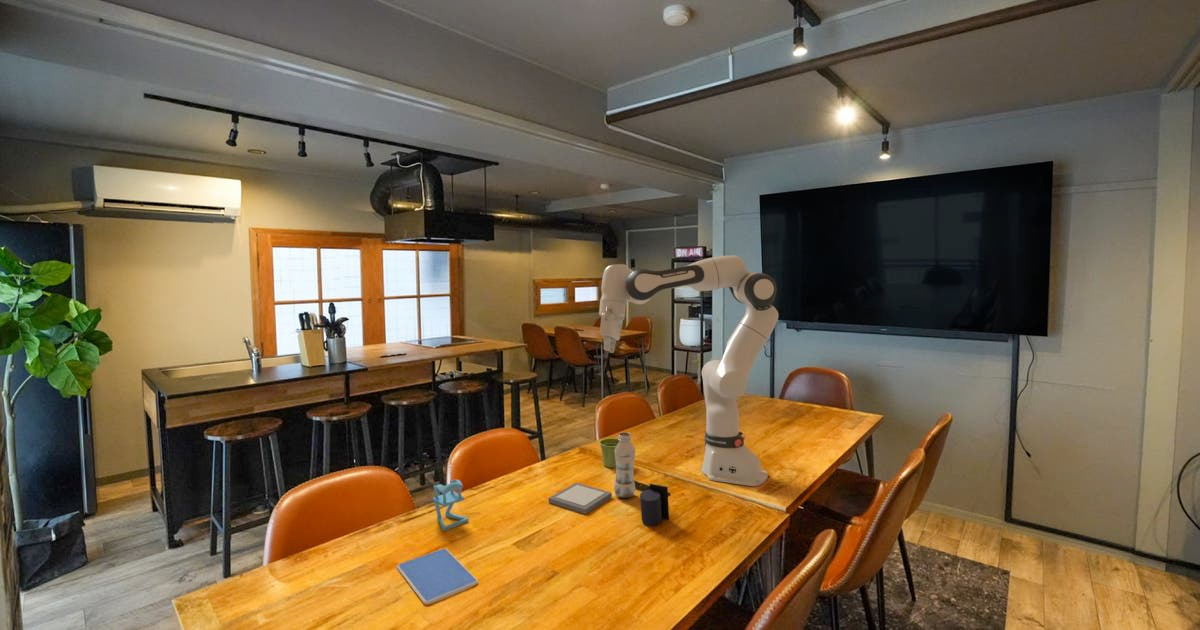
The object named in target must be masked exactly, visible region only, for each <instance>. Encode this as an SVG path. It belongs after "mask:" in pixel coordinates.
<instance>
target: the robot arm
mask: <svg viewBox="0 0 1200 630" xmlns="http://www.w3.org/2000/svg"><path fill="white" fill-rule="evenodd" d="M746 267H747V266H746V263H745V262H744V260H743V259H742V258H741V257H740V256H738V255H735V254H734V255H733V254H732V255H730V254H729V255H718V256H714V257H708V258H704V259H701V260H697V261H694V262H692V263H690V264H687V265H685V266H680V267H675V268H669V269H664V270H651V269H646V268H639V269H636V270H634V271H633V270H632V269H631V268H629V266H627V265H626V264H625V263H614V264H611V265H610V264H609V265H608V266H607V267H605V268H604V271H603V273H602V278H601V288H600V291H601V297H600V300H599V309H598V311H599V312H598V315H599V316H601V319H600V327H599V333H600V335H601V336H602V337H603V338H602V339H603V350H604V351H606V352H607V351H608V353H611V354H612V353H614V352H615V349H616V344H617V341H619V340H620V338H621V334H622V328H623V321H624V320H625V317H626V306H627V302H629V303H632V304H634V305H644V304H647V303H648V302H649V301H650V300H651V299H652V298H653V296H654V295H656V294H658V293H659V292H661V291H666V290H672V289H675V288H681V287H689V288H691V289H693V290H695V292H709V291H716V290H719V289H722V288H723V289H725V288H729V290H730V293H731V295H732V296H733V298H734V300H736V301H737V302H738V303H741V304H745V307H746V309H745V312H744V313H745V314H744V316H743V317H742V318H741V320H740V321H739V323H738V324H737V326H736V328H735V329H734V331H733V332H732V334H731V335H730V337H729V338H728V340H727V342H726V348H725V351H724V353H723V356H722V358H721V359H712V360H709V361H707V362H706V363H705V364H704V365H703V367H702V369H701V377H702V382H703V383H702V384H703V385H702V386H703V394H704V402H705V409H706V410H705V411H706V415H705V416H706V419H705V422H706V427H705V429H706V430H705V431H704V445H705V449H704V458H703V461H702V462H703V463H702V466H701V473H702V474H704V475H705V476H707V478H708V479H709V480H710V481H714V482H719V483H721V482H722V483H726V484H735V485H740V486H748V487H758V486H761V485H763V484H764V483H765V482H767V480H768V477H769V475H768V472H767V471H766V470H764V469H762V466H761V465H762V464H761V461H760V458H759V457H758V456H757V455H756V454H755V453H754V452H752V451H751V449H749V448H748V447H747V446H746V445H745V439H746V435H744V436H743V435H741V434H740V433H739V432H740V431H739V426H740V425H739V423H740V422H739V421H740V420H739V419H740V416H739V415H740V414H739V413H740V412H739V408H738V404H737V399H738V398H740V397H741V396H742V395H743V394H744V393H745V392H746V390H747V387H748V378H749V376H750V372H751V371H752V368H753V366H754V362H755V360H756V358H757V357H758V356H759V354H760V352H761V350H762V349H763V348H764V345H765V344H766V342H767V341H768V340H769V338H770V336H771V334H772V333H773V331H774V329H775V326H776V325H777V322H778V321H779V312H778V310H777V309H776V307H775V306H774V305H775V303H776V295H777V290H778V289H777V283H776V281H775V279H774V278H773V277H772V276H770V275H769V274H766V273H763V272H750V271H748V270H747V268H746Z"/></svg>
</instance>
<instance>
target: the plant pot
mask: <svg viewBox="0 0 1200 630" xmlns="http://www.w3.org/2000/svg"><path fill="white" fill-rule="evenodd" d="M598 443H599V446H600V449H601V455H602V460H603V461H602V462H603V466H605V467H606V468H610V469H611V468H612V469H614V468H615V469H616V460H615V451H614V450H615V447H616V446H617V444H618V443H619V440H618V438H614V437H610V438H603V439H600V441H599V442H598Z"/></svg>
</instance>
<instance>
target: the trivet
mask: <svg viewBox="0 0 1200 630" xmlns="http://www.w3.org/2000/svg"><path fill="white" fill-rule="evenodd" d="M612 496H613V495H612V492H611V491H607V490H603V489H599V488H596V487H593V486H589V485H586V484H584V483H583V484H582V483H578V482H575V483H572V484H571V485H569V486H568V487H566V488H564V489H563V490H560V491H558V492H557V493H555V494H553V495H552V496H549V497H548V503H549V504H551V505H554V506H558V507H561V508H564V509H567V510H571V511H574V512H577V513H580V514H583V515H587V514H588V513H590V512H591V511H593V510H594V509H596V508H598V507H599V506H600V505H603V503H605V502H606V501H609V500H610V499H611V498H612Z"/></svg>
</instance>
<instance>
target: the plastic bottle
mask: <svg viewBox="0 0 1200 630" xmlns="http://www.w3.org/2000/svg"><path fill="white" fill-rule="evenodd" d="M617 439H618V440H619V443H618V444H617V446H616V447H615V450H614V451H615V460H616V467H615V469H616V470H615V481H614V486H613V488H614V489H613V490H614V494H615V495H616V496H617V497H618V498H621V499H628V498H629V499H630V498H632V497H633V496H634V494H635V492H636V484H635V483H636V482H635V478H634V477H635V476H634V475H635V474H634V467H635V463H634V462H635V457H636V447H634V445H633V444H632V443H631V441H632V437H631V433H630V432H619V433H618V438H617Z"/></svg>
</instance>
